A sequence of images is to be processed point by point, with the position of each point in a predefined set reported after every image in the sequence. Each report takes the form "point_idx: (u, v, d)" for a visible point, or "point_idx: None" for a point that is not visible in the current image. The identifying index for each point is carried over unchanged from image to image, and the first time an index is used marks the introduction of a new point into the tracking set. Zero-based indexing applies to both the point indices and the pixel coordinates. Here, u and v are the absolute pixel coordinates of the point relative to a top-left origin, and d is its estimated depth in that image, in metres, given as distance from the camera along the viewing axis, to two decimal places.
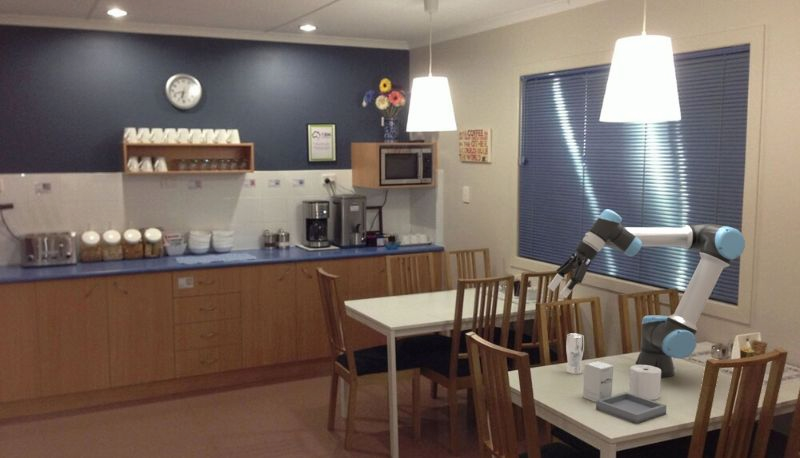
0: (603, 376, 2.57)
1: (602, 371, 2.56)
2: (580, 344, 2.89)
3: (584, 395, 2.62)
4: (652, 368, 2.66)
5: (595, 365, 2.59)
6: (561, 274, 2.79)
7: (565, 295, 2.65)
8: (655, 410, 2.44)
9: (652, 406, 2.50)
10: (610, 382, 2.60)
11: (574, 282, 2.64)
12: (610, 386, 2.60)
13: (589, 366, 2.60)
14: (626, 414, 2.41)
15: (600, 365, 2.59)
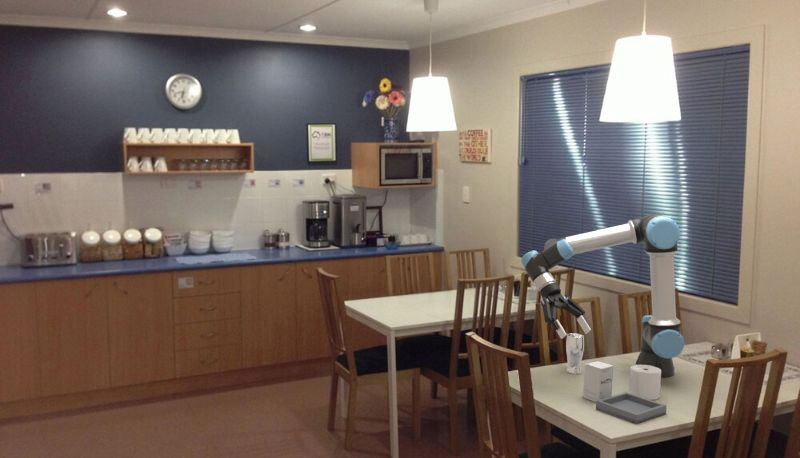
0: (603, 376, 2.57)
1: (602, 371, 2.56)
2: (580, 344, 2.89)
3: (584, 395, 2.62)
4: (652, 368, 2.66)
5: (595, 365, 2.59)
6: (579, 315, 2.76)
7: (563, 334, 2.64)
8: (655, 410, 2.44)
9: (652, 406, 2.50)
10: (610, 382, 2.60)
11: (551, 322, 2.66)
12: (610, 386, 2.60)
13: (589, 366, 2.60)
14: (626, 414, 2.41)
15: (600, 365, 2.59)
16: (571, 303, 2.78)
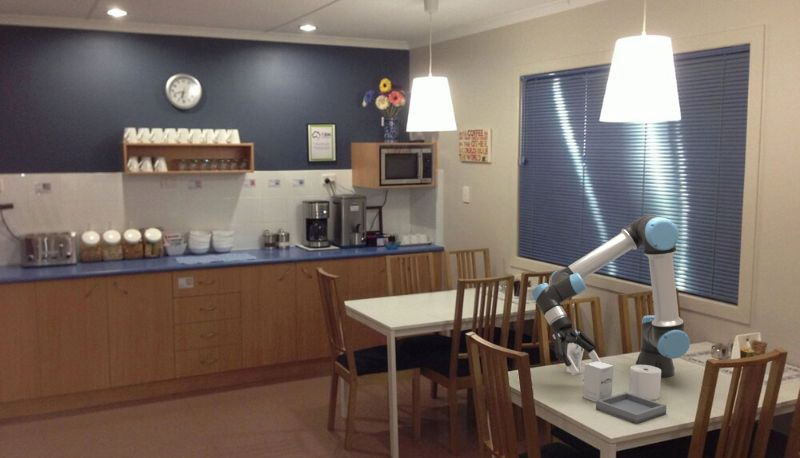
0: (603, 376, 2.57)
1: (602, 371, 2.56)
2: None
3: (584, 395, 2.62)
4: (652, 368, 2.66)
5: (595, 365, 2.59)
6: (591, 350, 2.71)
7: (574, 371, 2.59)
8: (655, 410, 2.44)
9: (652, 406, 2.50)
10: (610, 382, 2.60)
11: (563, 358, 2.62)
12: (610, 386, 2.60)
13: (589, 366, 2.60)
14: (626, 414, 2.41)
15: (600, 365, 2.59)
16: (583, 337, 2.73)
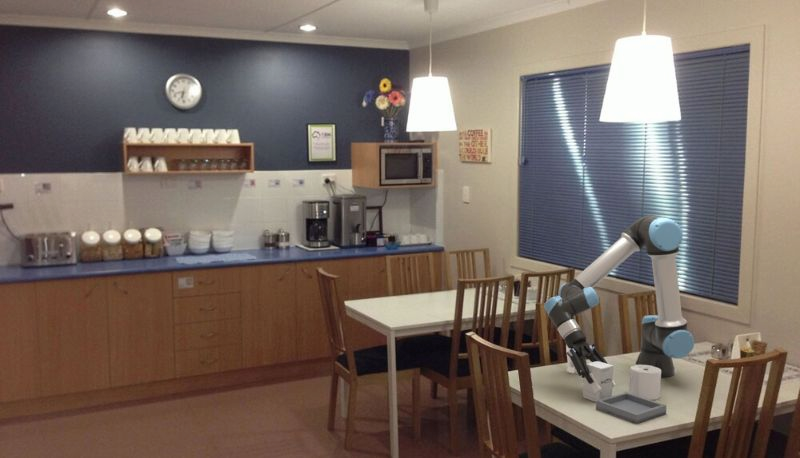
0: (603, 376, 2.57)
1: (602, 371, 2.56)
2: None
3: (584, 395, 2.62)
4: (652, 368, 2.66)
5: (595, 365, 2.59)
6: None
7: (597, 388, 2.56)
8: (655, 410, 2.44)
9: (652, 406, 2.50)
10: (610, 382, 2.60)
11: (585, 376, 2.59)
12: (610, 386, 2.60)
13: (589, 366, 2.60)
14: (626, 414, 2.41)
15: (600, 365, 2.59)
16: (596, 353, 2.68)
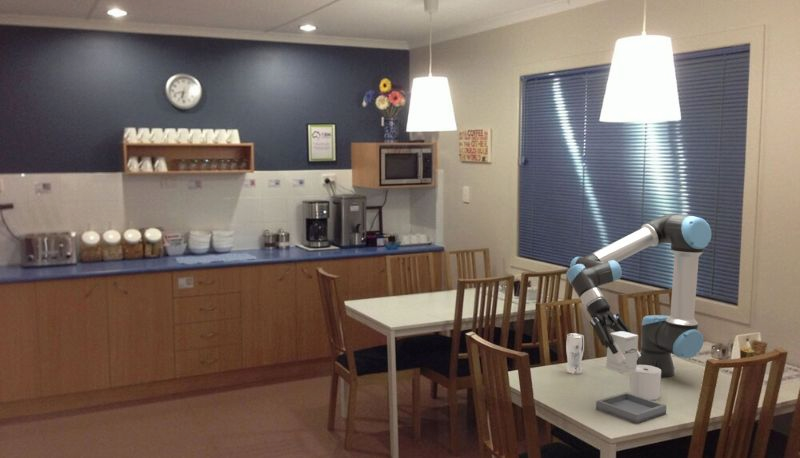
0: (627, 346, 2.46)
1: (626, 340, 2.45)
2: (580, 344, 2.89)
3: (607, 366, 2.51)
4: (652, 368, 2.66)
5: (619, 334, 2.48)
6: None
7: (621, 358, 2.45)
8: (655, 410, 2.44)
9: (652, 406, 2.50)
10: (635, 352, 2.48)
11: (609, 345, 2.47)
12: (635, 356, 2.49)
13: (613, 335, 2.48)
14: (626, 414, 2.41)
15: (625, 335, 2.48)
16: (620, 323, 2.57)
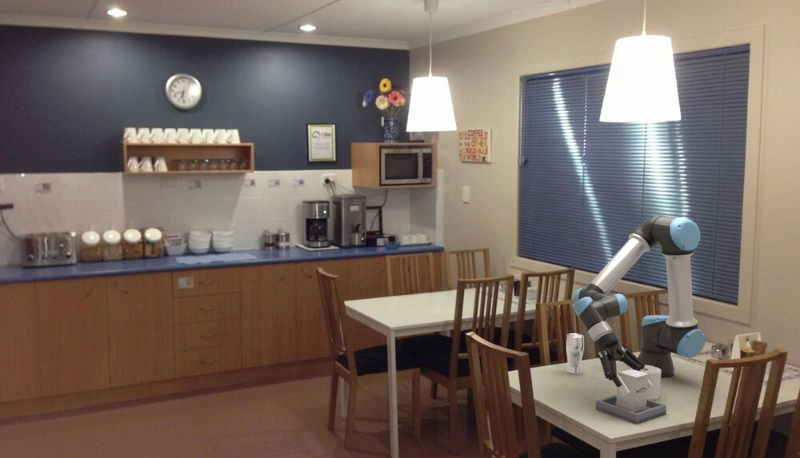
0: (638, 385, 2.44)
1: (637, 380, 2.44)
2: (580, 344, 2.89)
3: (617, 405, 2.50)
4: (652, 368, 2.66)
5: (629, 373, 2.47)
6: (638, 369, 2.54)
7: (625, 392, 2.43)
8: (655, 410, 2.44)
9: (652, 406, 2.50)
10: (645, 391, 2.47)
11: (613, 378, 2.45)
12: (645, 395, 2.48)
13: (623, 374, 2.47)
14: (626, 414, 2.41)
15: (635, 374, 2.47)
16: (629, 355, 2.56)
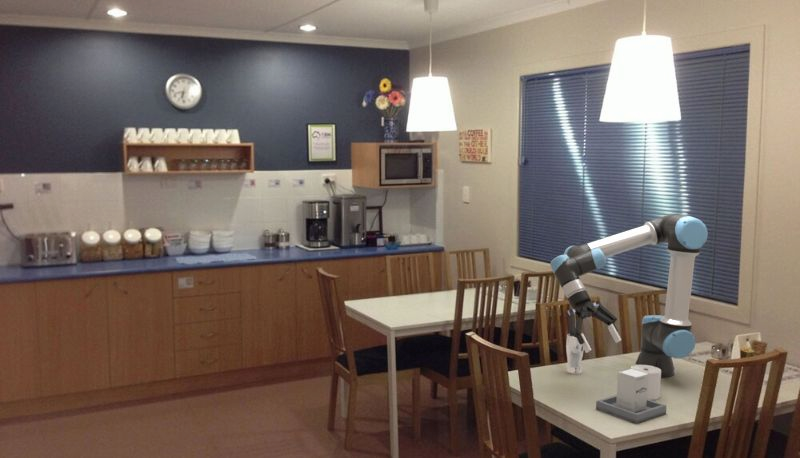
0: (638, 385, 2.44)
1: (637, 380, 2.44)
2: (580, 344, 2.89)
3: (617, 405, 2.50)
4: (652, 368, 2.66)
5: (629, 373, 2.47)
6: (610, 323, 2.65)
7: (587, 349, 2.57)
8: (655, 410, 2.44)
9: (652, 406, 2.50)
10: (645, 391, 2.47)
11: (576, 336, 2.59)
12: (645, 395, 2.48)
13: (623, 374, 2.47)
14: (626, 414, 2.41)
15: (635, 374, 2.47)
16: (602, 310, 2.67)
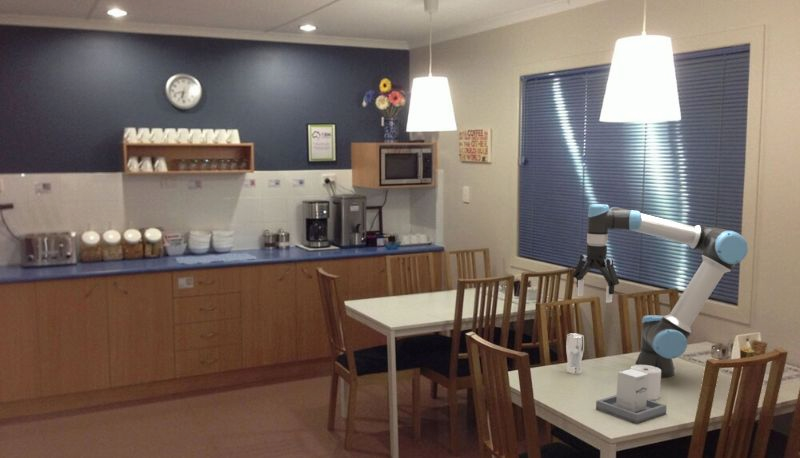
0: (638, 385, 2.44)
1: (637, 380, 2.44)
2: (580, 344, 2.89)
3: (617, 405, 2.50)
4: (652, 368, 2.66)
5: (629, 373, 2.47)
6: None
7: None
8: (655, 410, 2.44)
9: (652, 406, 2.50)
10: (645, 391, 2.47)
11: None
12: (645, 395, 2.48)
13: (623, 374, 2.47)
14: (626, 414, 2.41)
15: (635, 374, 2.47)
16: None
